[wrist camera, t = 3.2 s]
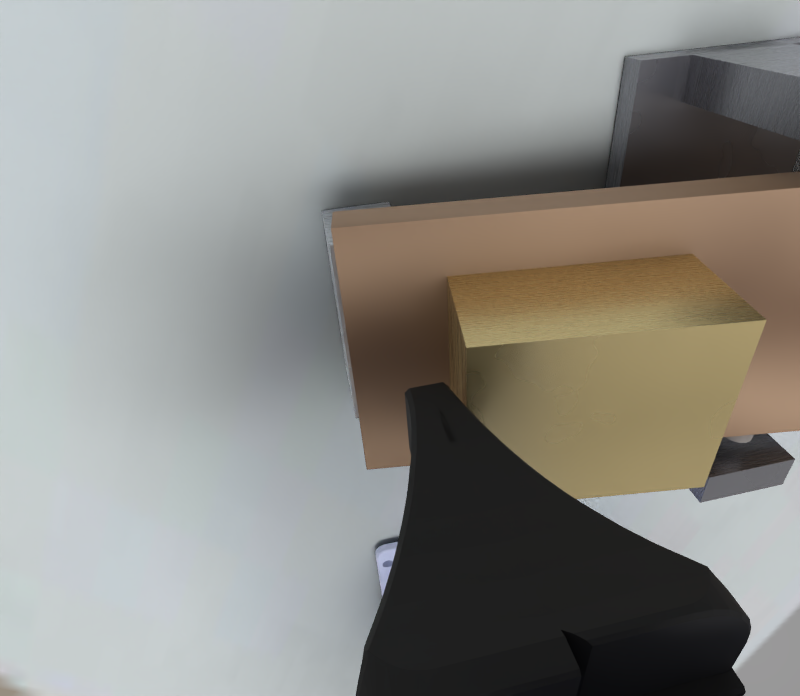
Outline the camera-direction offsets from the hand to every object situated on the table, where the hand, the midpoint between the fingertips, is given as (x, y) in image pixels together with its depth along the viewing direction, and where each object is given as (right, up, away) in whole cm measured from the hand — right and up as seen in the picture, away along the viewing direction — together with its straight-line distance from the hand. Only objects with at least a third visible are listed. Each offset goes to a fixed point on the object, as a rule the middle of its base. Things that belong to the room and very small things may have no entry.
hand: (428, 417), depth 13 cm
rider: (+4, +2, +2) cm, 4 cm away
